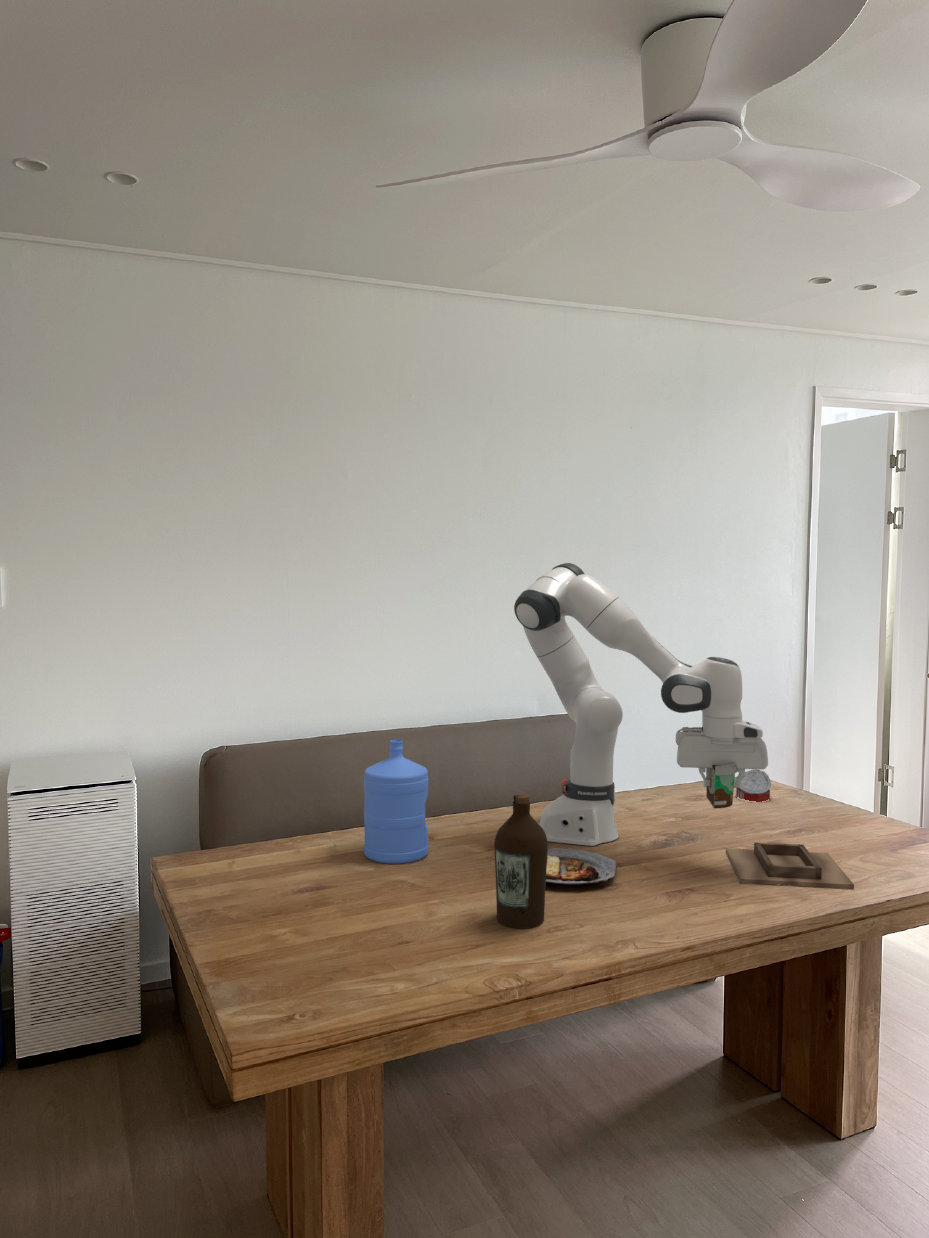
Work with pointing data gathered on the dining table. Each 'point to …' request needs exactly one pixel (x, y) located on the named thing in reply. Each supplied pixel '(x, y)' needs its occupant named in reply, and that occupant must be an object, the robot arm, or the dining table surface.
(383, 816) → the water jug
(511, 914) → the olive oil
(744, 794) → the canned food
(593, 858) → the food plate
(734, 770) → the food container
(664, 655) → the robot arm
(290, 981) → the dining table surface
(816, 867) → the caddy board
